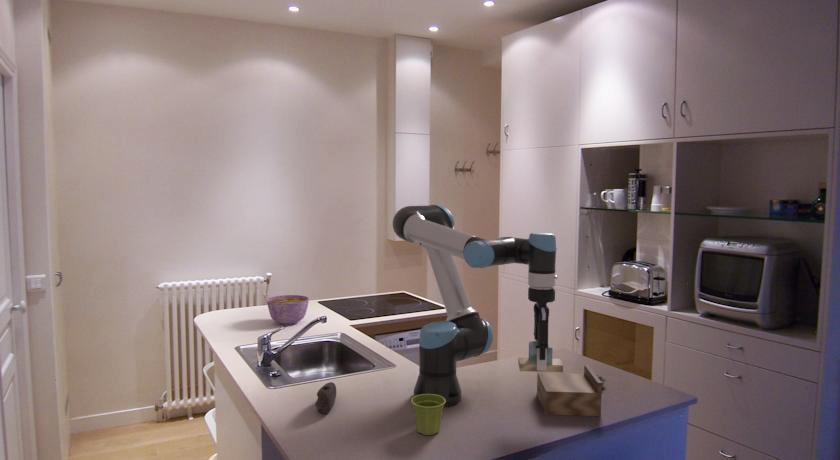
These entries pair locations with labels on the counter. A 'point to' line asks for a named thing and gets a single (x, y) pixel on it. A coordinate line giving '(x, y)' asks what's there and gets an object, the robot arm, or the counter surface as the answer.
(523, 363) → the blue cube on tile
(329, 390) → the perforated stone tool
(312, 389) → the counter surface
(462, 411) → the counter surface
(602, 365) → the counter surface
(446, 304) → the robot arm
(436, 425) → the plant pot
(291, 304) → the bowl of food
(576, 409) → the dock
